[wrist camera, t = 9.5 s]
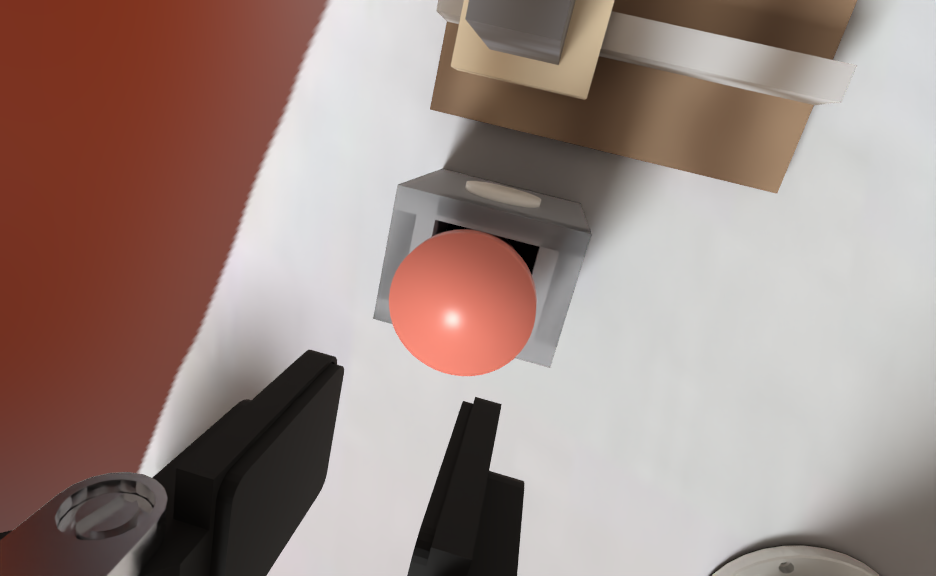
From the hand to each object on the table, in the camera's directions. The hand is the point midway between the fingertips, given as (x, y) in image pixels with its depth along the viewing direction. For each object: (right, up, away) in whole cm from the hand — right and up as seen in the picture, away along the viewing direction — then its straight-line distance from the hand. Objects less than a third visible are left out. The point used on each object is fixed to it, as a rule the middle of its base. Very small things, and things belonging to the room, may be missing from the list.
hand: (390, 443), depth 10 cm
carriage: (+5, +16, +15) cm, 22 cm away
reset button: (+2, +4, +14) cm, 15 cm away
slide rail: (+10, +15, +16) cm, 24 cm away
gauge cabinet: (+3, +6, +20) cm, 21 cm away
